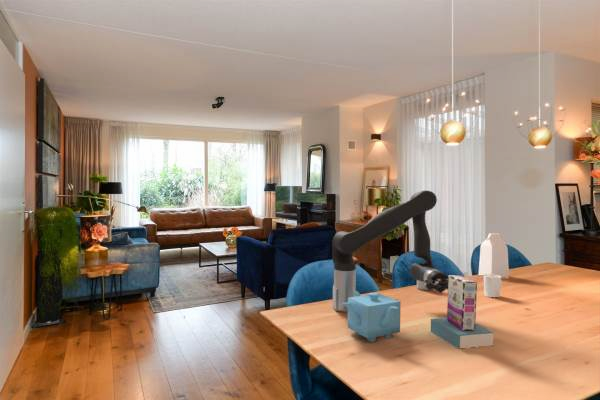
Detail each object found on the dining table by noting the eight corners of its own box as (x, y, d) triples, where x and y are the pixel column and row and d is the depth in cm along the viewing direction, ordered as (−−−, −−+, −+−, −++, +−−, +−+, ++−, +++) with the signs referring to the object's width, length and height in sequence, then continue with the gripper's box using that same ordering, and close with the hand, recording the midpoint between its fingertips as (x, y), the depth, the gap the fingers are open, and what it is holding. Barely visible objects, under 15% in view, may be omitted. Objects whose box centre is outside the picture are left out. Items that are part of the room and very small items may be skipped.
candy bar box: (476, 330, 129) (477, 281, 129) (462, 331, 129) (463, 281, 128) (459, 319, 140) (460, 274, 140) (446, 319, 140) (447, 274, 139)
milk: (491, 278, 228) (492, 234, 227) (478, 274, 239) (479, 232, 238) (509, 278, 230) (509, 234, 230) (495, 274, 241) (496, 232, 241)
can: (432, 291, 199) (432, 267, 199) (417, 290, 200) (417, 267, 200) (430, 287, 206) (431, 265, 206) (416, 286, 208) (416, 264, 207)
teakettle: (401, 329, 143) (401, 289, 143) (398, 348, 125) (399, 303, 125) (350, 323, 149) (350, 285, 149) (340, 341, 131) (341, 298, 131)
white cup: (483, 297, 188) (484, 276, 187) (482, 293, 195) (483, 273, 195) (501, 299, 185) (502, 278, 184) (500, 295, 192) (500, 274, 192)
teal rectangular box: (458, 350, 125) (458, 335, 125) (430, 332, 141) (430, 318, 141) (493, 346, 128) (493, 331, 128) (462, 329, 144) (462, 316, 144)
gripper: (418, 270, 156) (433, 279, 140) (453, 270, 156) (472, 279, 140) (418, 288, 156) (433, 300, 140) (453, 289, 156) (472, 300, 140)
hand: (452, 289), depth 140 cm, fingers open, 8 cm apart
